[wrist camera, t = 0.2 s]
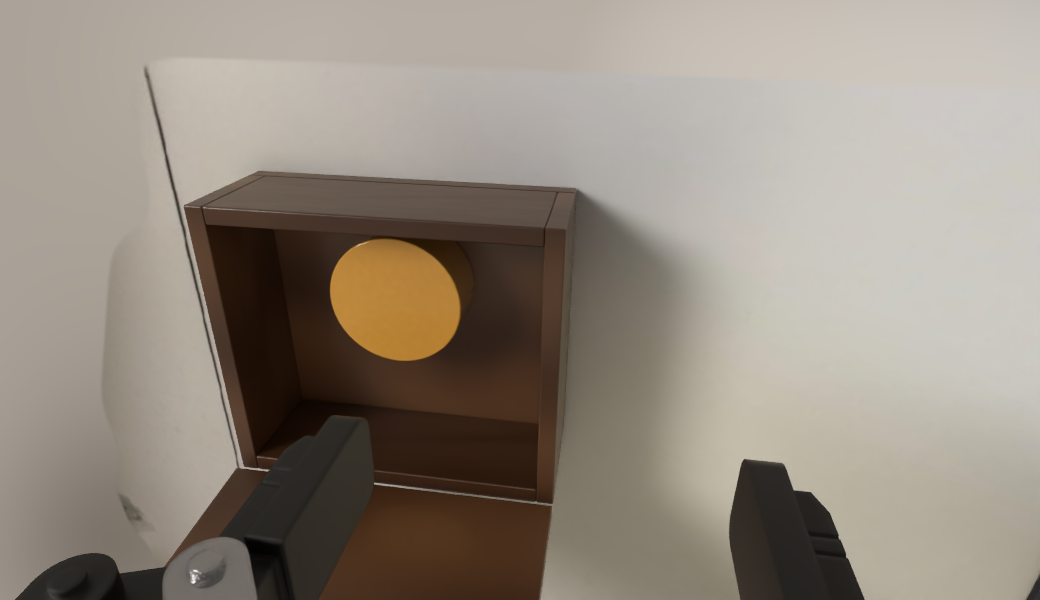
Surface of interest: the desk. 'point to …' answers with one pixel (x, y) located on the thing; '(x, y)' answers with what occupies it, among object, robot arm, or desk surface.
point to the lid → (419, 544)
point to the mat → (1035, 592)
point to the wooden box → (381, 381)
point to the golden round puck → (402, 295)
